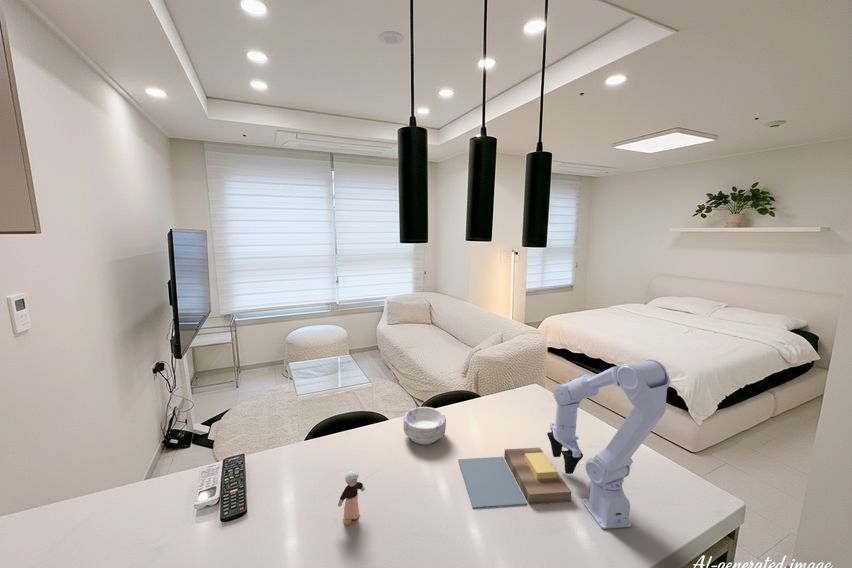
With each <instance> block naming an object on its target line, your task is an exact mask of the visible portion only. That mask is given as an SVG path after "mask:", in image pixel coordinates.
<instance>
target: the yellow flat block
mask: <svg viewBox="0 0 852 568" xmlns="http://www.w3.org/2000/svg"><path fill="white" fill-rule="evenodd" d="M545 455H546V454H545V453H544V451H543V452H542V453H525V461H526V463H527V464H528V466H529V468H530V469H531V471H532V472H533V474H534V476H535V477H536V479H550V478H557V472H558V471H557V470H555V469H556V468H555V467H554V465H553V464H552V462H551V461H550V460H549V458H548V457H547V455H546V456H545ZM550 462H551V463H550Z"/></svg>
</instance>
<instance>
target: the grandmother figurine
mask: <svg viewBox="0 0 852 568" xmlns="http://www.w3.org/2000/svg"><path fill="white" fill-rule="evenodd" d="M358 478H359V473H358V472H356V471H354V470H353V471H352V470H350V471H349V472H347V473H346V475H345V477H344V481H345V483H346V484H347V485H346V486H345V488H344V490H343V491H342V493H341V495H340V496H339V500H338V503H337V506H338V507H339V508H340V507H342V506H343V503H344V508H343V519H342V522H343V524H344V526H350V525H351V524H352V523H353V521H352V520H358V519H359V518H360V510H359V500H358V496H359V492H358V491H359V490H360V492H364V491H365V487H364V484H363V482H360V481H358ZM344 500H345V502H344Z"/></svg>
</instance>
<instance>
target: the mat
mask: <svg viewBox="0 0 852 568" xmlns="http://www.w3.org/2000/svg"><path fill="white" fill-rule="evenodd" d="M457 461H458V464H459V467H460V472H461V475H462V478H463V481H464V484H465V488H466V490H467V494H468V497H469V500H470V504H471V507H472V509H473V510H474V509H485V508H486V509H488V508H498V507H499V506H502V507H513V506H514V507H515V505H516V506H526V505H528V502H527V500H526V498H525V496H524V494H523V493H522V491H521V489H520V487H519V485H518V483H517V481H516V479H515V477H514V475H513V473H512V472H511V470H510V468H509V466H508V464H507V462H506V460H505V458H504V456H493V457H475V458H458V459H457ZM487 507H488V508H487Z"/></svg>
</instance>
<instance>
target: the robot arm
mask: <svg viewBox="0 0 852 568" xmlns="http://www.w3.org/2000/svg"><path fill="white" fill-rule="evenodd" d="M667 371H668V370H667V369H666V367H665V366H664V365H663V364H662V362H660V361H658V360H656V359H646V360H643V361H638V362H633V363H629V364H628V363H624V364H622V365H618V366H617V365H616V366H612V367H610V368H608V369H606V370H604V371H602V372H600V373H598V374H596V375H594V376H593V375H589V374H584V373H580V374H577V375H576V377H577V378H575V379H567V380H566V383H562V384H560V383H559V384H558V383H557V384H556V385H555V386H554V387H553V390H552V393H553V394H552V395H553V397H554V399H555V400H554V401H555V402H556V410H555V423H551V422H550V425H549V427H550V428H549V430H550V431H549V432H547V434H546V435H547V437H548V440H549V442H550V443H549V444H550V446H551V453H552V456H553V458H561V456H563V457H562V458H563V462H564V472H565V474H566V475H571V474H572V475H573V474H574V471H575V469H576V467H577V465H578V463H579V462H580V461H581V460H582V459H583V457H584V453H582V450H581V449H580V446H579V445H578V441H577V440H579V436H578V435H577V434H576V433H577V432H576V431H577V417H578V408H579V407H580V404H581V402H582V401H583V400H586V399H588V398H591V397H594V396H596V395H598V394H599V391H600V389H601V388H604V387H607V386H610V385H613V384H615V385H616V386H617V387H621V389H622V391H623V392H624V394H625V395H626V397H627V399H628V400H629V401H630V403H631V405H632V406H634V407H633V408H632V410H631V411H630V412H629V413H628V415H627V416H626V418H625V420H624V421H623V423H621V425H620V426H619V429H618V430H617V431H616V432H615V434H614V435H613V436H612V439H611V440H610V441H609V443H608V444H607V445H606V447H605V448H603V449H602V450H601V451H599V452H597V453H596V454H595V456H594V457H591V458H588V459H587V460H586V461H585V465H584V466H585V467H584V468H585V471H586V474H587V476H588V478H589V480H590V485H589V487H590V488H589V498H582V499H581V502H582V504H583V505H584V506H585V507H586V509H587V510H588V511H589V513H590V514H591V516H592V517H593V518H594V520H595V521H596V522H597V524H598V525H599V527H600V528H601V529H603V530H605V529H616V528H617V529H618V528H630V527H632V523H631V522H630V521H629V520H630V519H629V518H630V512H631V511H630V510H631V503H630V501H629V499H628V498H627V496H626V494H625V492H624V490H623V483H624V481H625V478H627V477H628V476H629V475H630V473H631V466H632V464H633V463H634V461H633V459H632V456H633V455H634V454H635V453H636V452H637V450H638V449H639V448H640V446H641V445H642V444H643V442H644V441H645V439H646V438H647V437H648V436H649V435H650V434H651V432H652V431H653V430H654V428H655V426H656V425H658V423H659V422H660V420H661V419H662V417H663V416H664V415H665V413H666V408H667V407H666V406H667V393H668V392H667V391H668V389H669V386H670V385H671V383H672V381H671V377H670V376H669V373H668V372H667ZM563 445H564V446H565V447H567V448H568V449H567V448H566V449H567V450H563V448H564V447H563Z"/></svg>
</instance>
